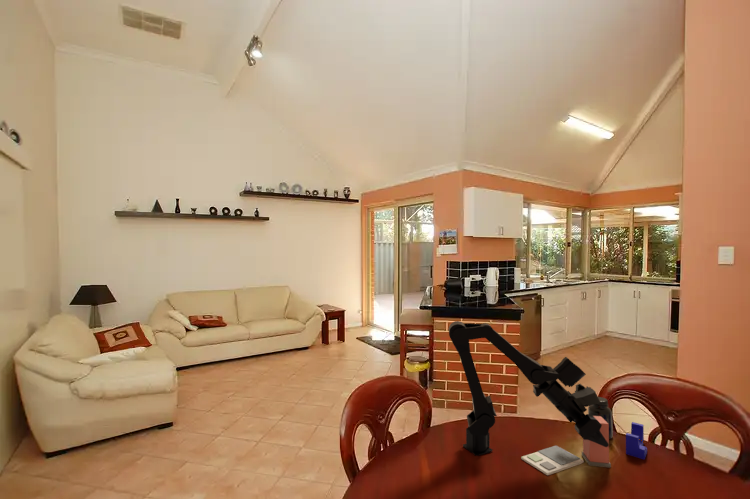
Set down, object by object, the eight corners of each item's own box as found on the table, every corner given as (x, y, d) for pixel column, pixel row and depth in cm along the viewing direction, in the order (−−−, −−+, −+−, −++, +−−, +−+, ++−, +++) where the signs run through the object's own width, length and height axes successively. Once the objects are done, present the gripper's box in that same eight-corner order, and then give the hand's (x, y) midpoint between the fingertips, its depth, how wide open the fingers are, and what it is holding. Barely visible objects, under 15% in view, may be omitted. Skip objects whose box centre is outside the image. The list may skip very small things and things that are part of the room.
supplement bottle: (605, 430, 123) (605, 395, 124) (617, 440, 116) (616, 403, 117) (584, 429, 124) (584, 394, 124) (594, 439, 117) (594, 402, 118)
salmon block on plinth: (589, 465, 102) (588, 422, 103) (581, 455, 108) (581, 414, 108) (610, 467, 101) (610, 424, 101) (602, 457, 107) (601, 416, 107)
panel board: (547, 475, 97) (547, 472, 97) (521, 458, 105) (521, 455, 105) (583, 462, 103) (583, 459, 103) (556, 447, 112) (556, 445, 112)
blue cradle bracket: (644, 460, 105) (644, 439, 106) (626, 454, 108) (625, 434, 109) (649, 445, 114) (649, 426, 114) (632, 440, 117) (632, 421, 117)
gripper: (592, 389, 97) (639, 435, 94) (568, 369, 115) (607, 407, 113) (561, 416, 98) (606, 462, 95) (542, 392, 116) (580, 430, 114)
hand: (600, 438), depth 104 cm, fingers open, 9 cm apart
